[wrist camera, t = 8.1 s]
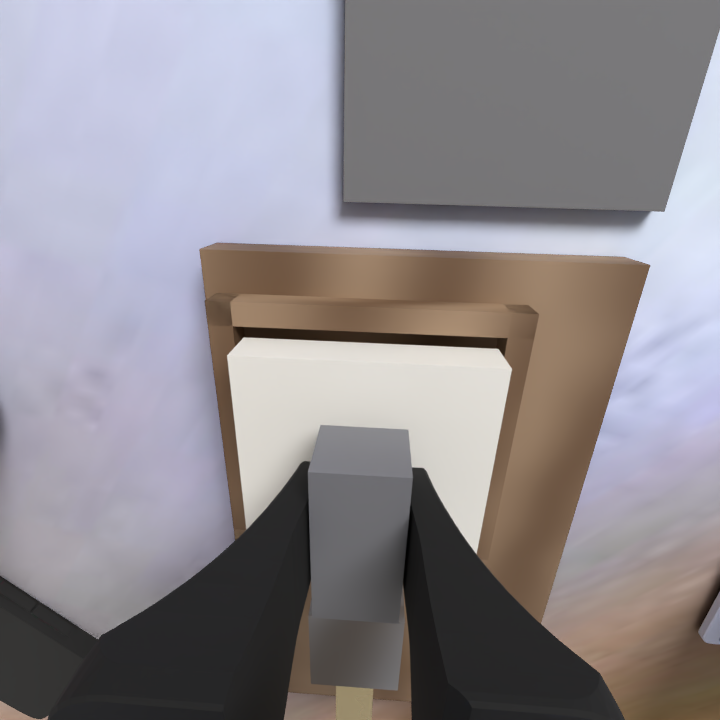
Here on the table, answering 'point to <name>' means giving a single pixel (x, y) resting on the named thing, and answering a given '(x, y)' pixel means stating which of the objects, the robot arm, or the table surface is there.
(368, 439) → the cover
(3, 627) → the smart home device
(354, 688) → the latch bolt
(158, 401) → the table surface
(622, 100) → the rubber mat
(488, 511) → the walnut base
